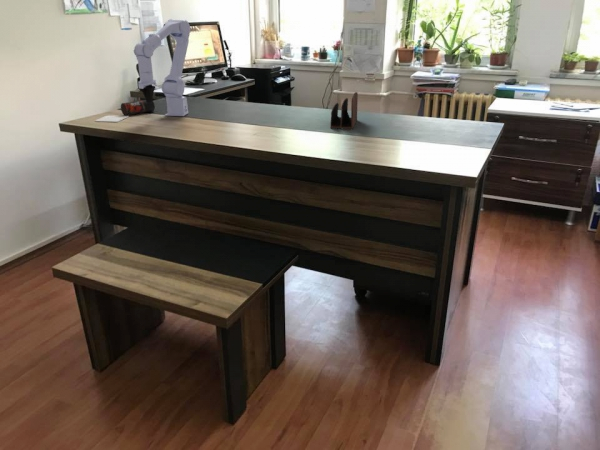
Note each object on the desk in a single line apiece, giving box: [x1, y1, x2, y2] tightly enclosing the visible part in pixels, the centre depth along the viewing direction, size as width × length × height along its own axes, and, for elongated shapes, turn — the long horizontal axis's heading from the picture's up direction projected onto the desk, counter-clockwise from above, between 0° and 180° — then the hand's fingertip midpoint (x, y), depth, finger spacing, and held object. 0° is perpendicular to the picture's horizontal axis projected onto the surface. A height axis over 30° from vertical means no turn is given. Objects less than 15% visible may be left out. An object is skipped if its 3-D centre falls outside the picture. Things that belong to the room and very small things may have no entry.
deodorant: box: [120, 99, 156, 116], centre depth 245 cm, size 6×6×15 cm
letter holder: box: [330, 91, 358, 130], centre depth 225 cm, size 10×20×14 cm, turn 168°
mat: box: [94, 115, 130, 123], centre depth 234 cm, size 11×12×1 cm
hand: (149, 102), depth 228 cm, fingers closed
